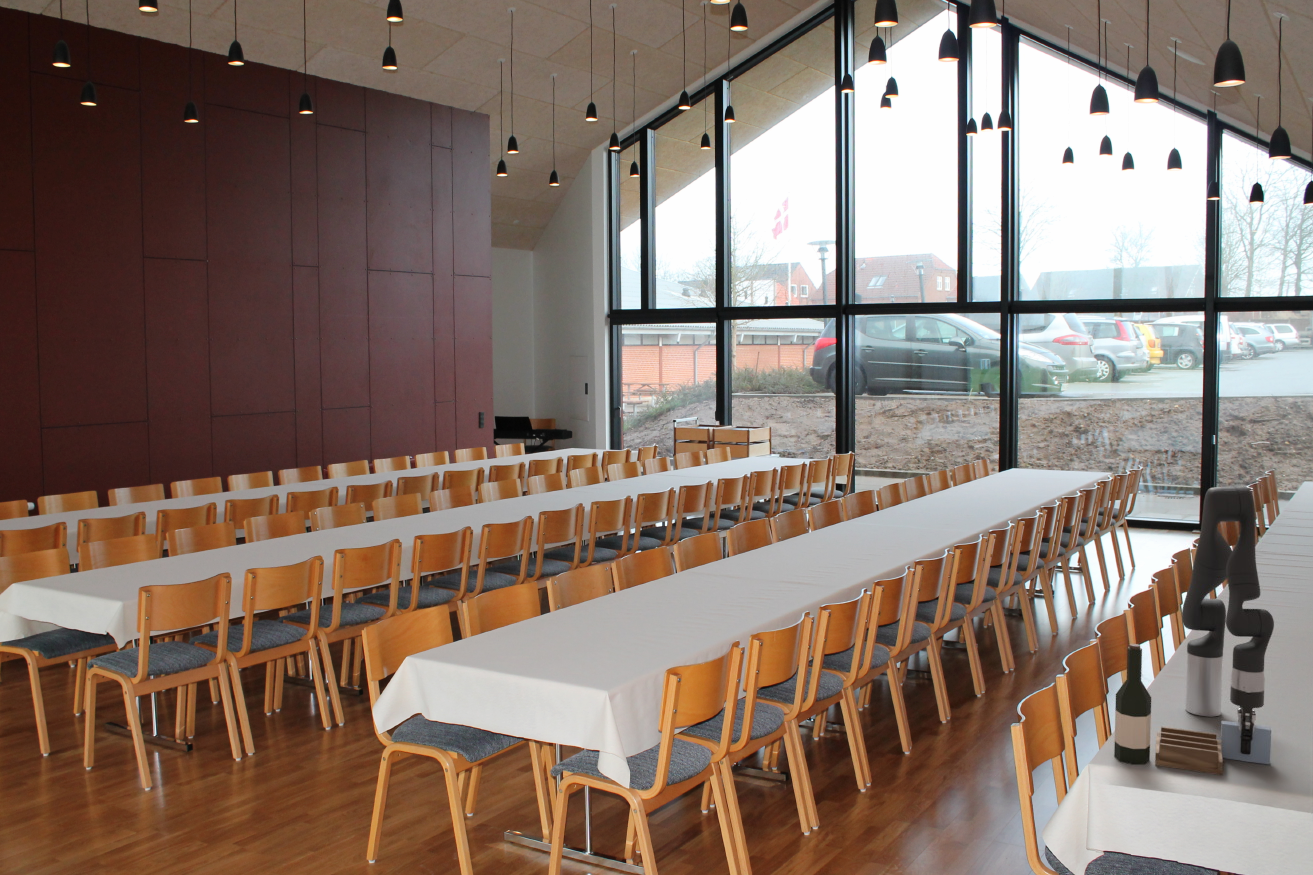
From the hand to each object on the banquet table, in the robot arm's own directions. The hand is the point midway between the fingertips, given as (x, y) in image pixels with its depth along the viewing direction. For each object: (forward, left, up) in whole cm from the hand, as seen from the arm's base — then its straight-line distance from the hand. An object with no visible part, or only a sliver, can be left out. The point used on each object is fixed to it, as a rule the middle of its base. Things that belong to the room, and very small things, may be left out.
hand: (1245, 751), depth 269 cm
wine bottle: (+11, -26, -2) cm, 28 cm away
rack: (+5, -13, -2) cm, 14 cm away
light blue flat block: (0, 0, -2) cm, 2 cm away
